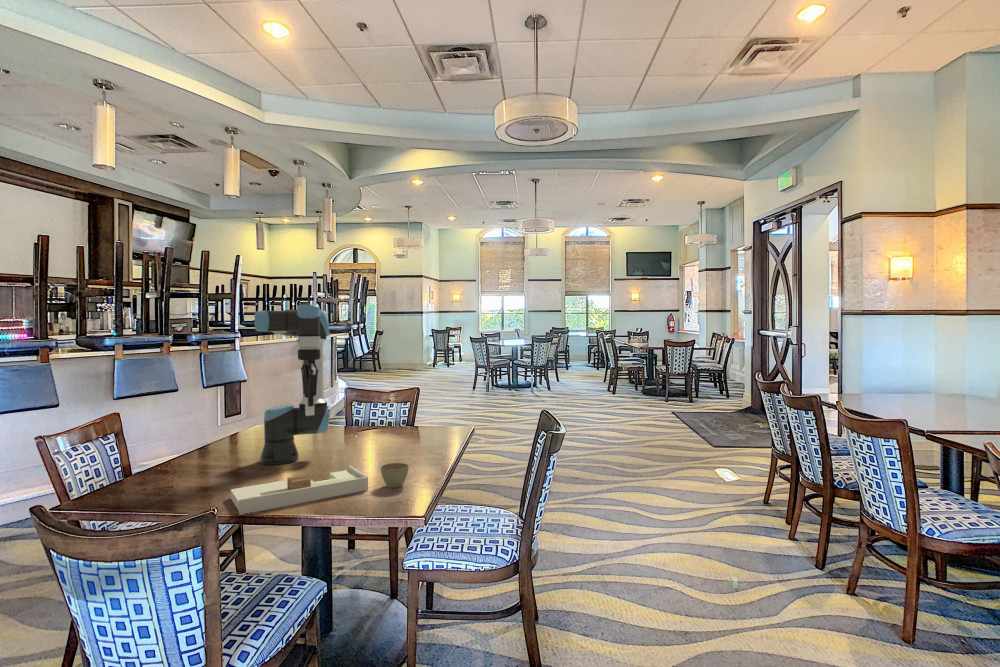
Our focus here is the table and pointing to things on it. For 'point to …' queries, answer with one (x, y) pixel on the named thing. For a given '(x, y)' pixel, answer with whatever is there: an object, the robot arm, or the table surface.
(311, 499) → the tray
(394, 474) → the flower pot
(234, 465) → the table surface
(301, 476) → the block
